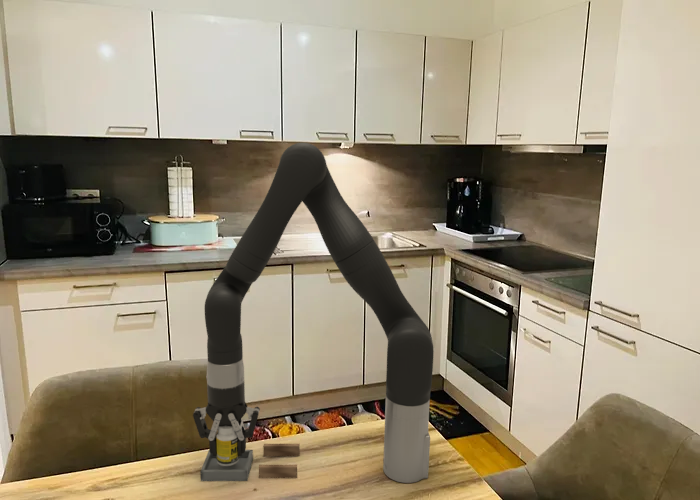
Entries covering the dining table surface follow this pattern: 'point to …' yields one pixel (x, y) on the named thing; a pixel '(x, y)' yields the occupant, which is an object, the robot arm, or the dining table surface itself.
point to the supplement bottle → (227, 446)
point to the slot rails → (279, 470)
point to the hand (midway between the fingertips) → (227, 453)
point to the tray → (227, 468)
